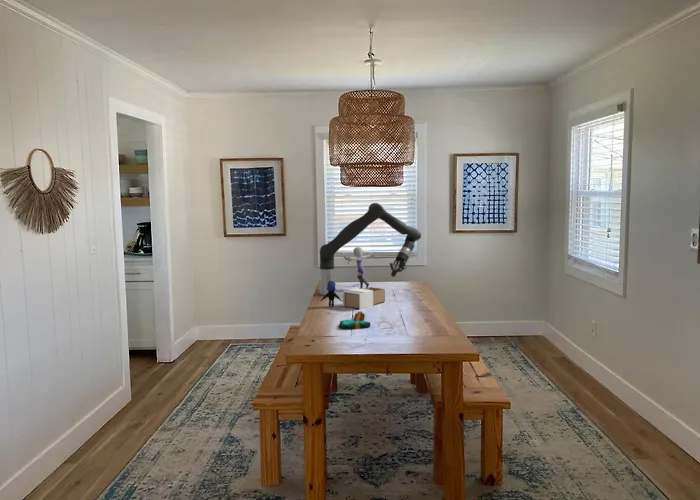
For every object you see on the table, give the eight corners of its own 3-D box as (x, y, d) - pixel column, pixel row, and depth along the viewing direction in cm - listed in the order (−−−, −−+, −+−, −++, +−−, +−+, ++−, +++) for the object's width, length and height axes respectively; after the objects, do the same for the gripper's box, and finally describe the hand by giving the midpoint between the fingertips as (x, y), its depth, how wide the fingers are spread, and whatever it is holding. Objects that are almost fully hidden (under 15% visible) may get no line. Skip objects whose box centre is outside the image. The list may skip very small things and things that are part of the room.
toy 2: (343, 316, 305) (338, 330, 276) (343, 311, 305) (338, 324, 275) (372, 316, 304) (369, 330, 274) (372, 311, 304) (369, 325, 274)
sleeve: (355, 303, 338) (355, 287, 337) (373, 306, 329) (373, 290, 328) (342, 306, 329) (342, 290, 328) (360, 309, 320) (360, 293, 319)
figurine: (345, 287, 391) (344, 245, 388) (374, 287, 390) (374, 245, 387) (343, 291, 375) (343, 248, 372) (374, 291, 374) (374, 247, 370)
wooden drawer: (370, 299, 347) (370, 287, 346) (384, 301, 340) (384, 289, 339) (345, 306, 329) (345, 292, 328) (359, 308, 322) (359, 295, 321)
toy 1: (343, 305, 333) (342, 280, 331) (341, 307, 327) (341, 282, 325) (321, 304, 334) (321, 280, 333) (320, 307, 328) (319, 282, 327)
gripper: (393, 250, 363) (381, 271, 355) (409, 252, 355) (398, 273, 347) (397, 258, 368) (386, 278, 360) (414, 259, 359) (403, 280, 351)
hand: (392, 276), depth 353 cm, fingers closed
